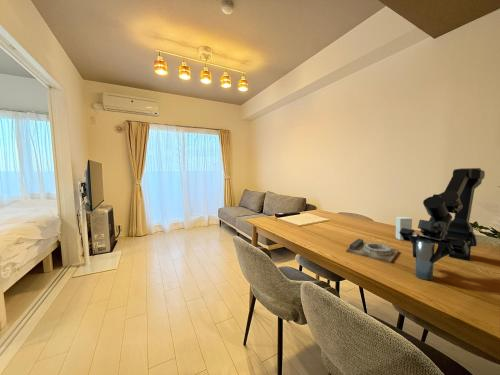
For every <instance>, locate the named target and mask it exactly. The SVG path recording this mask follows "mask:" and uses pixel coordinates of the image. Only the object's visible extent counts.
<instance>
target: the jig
mask: <svg viewBox="0 0 500 375" xmlns="http://www.w3.org/2000/svg"><path fill="white" fill-rule="evenodd" d="M345 250H346V251H345V252H346V253H350V254H355V255H358V256H362V257H366V258H369V259H373V260H377V261H381V262H386V263H388V264H389V263H390V264H391V263H392V262H393V261H394V259H395V258H396V257H397V255H398V253H399V252H400V249H398V248H397V249H396V248H393V247H390V246H389V245H387V244H384V243H379V242H378V243H377V242H364V239H363V238H362V239H361V238H357V239H356V240H354V241H353V242H352V243H350V244H349V247H348V248H347V249H345Z"/></svg>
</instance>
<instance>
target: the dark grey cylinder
mask: <svg viewBox="0 0 500 375" xmlns="http://www.w3.org/2000/svg"><path fill="white" fill-rule="evenodd" d="M435 246H436V244H435V243H434V242H433V241H430V240H424V239H417V240H416V257H415V259H414V260H415V264H414V266H415V267H414V275H415V277H417V278H419V279H421V280H425V281H432V280H433V279H434V265H435V263H431V260H432V257H433V255H434V253H435Z"/></svg>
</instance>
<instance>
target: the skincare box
mask: <svg viewBox="0 0 500 375" xmlns="http://www.w3.org/2000/svg"><path fill="white" fill-rule="evenodd" d="M412 225H413V218H412V217H408V216H395V238H396V239H397V240H399V241H405V240H404V239H403V238H402V236H401V234H400V233H399V232H400V230H401V229H402V228H407V229H412V230H413V228H412V227H413V226H412Z"/></svg>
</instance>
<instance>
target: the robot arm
mask: <svg viewBox="0 0 500 375" xmlns="http://www.w3.org/2000/svg"><path fill="white" fill-rule="evenodd" d="M485 172H486V171H485V170H483V169H481V168H480V167H475V168H474V167H470V168H467V167H466V168H465V167H464V168H461V167H460V168H455V169H453V171H452V177H451V178H450V180H449V182H448V184H447V186H446V188H445V190H444V191H443V192H440V193H439V194H436V193H435V194H433V195H432V196H429V197H426V198H425V199H423V202H422V204H423V206H424V209H425V210H426V213H427V214H428V216H430V218H429V220H424V219H419V221H418V225H417V229H420V230H419V232H420V234H419V232H415V230H414V229H413V228H412V229H407V228H402V229H401V230H400V232H399V233H400V234H401V236H402V238H403V239H404V240H403V241H405V242H410V243H411V244H412V257H413V258H415V259H416V240H417V239H424V240H430V241H433V242H434V243H435V245H436V244H437V248H436V250H435V251H434V255H433V257H432V260H431V263H434V264H435V263H436V262H438V261H439V260H440V259H442V258H444V257H446V256H448V257H450V258H453V259H454V258H455V259H459V260H460V259H461V260H464V261H465V260H466V261H469V262H470V261H472V260H471V250H472V249H471V247H477V246H478V244H477V243H478V242H477V238H476V234H475V232H474V227H473V226H472V224H471V223H470V219H471V213H472V207H473V206H472V205H473V200H474V195H475V189H476V188H478V187H479V186H481V185H482V182H483V180H484V179H485V177H486V176H485V175H486V174H485ZM452 214H454V218H453V216H452ZM444 236H445V239H446V240H443V239H444Z"/></svg>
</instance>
